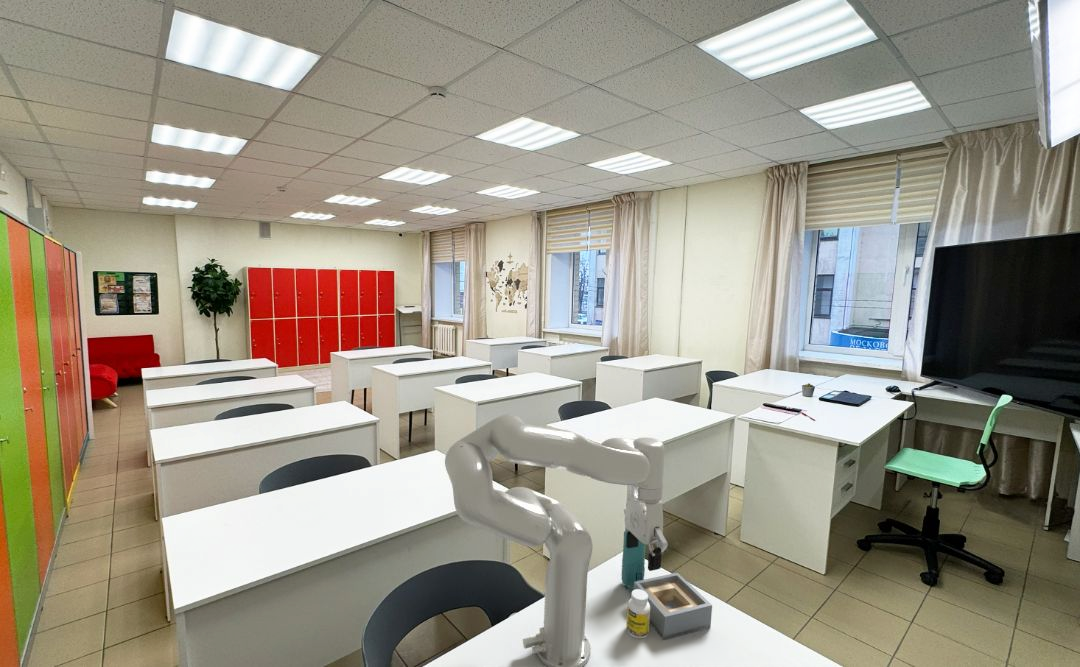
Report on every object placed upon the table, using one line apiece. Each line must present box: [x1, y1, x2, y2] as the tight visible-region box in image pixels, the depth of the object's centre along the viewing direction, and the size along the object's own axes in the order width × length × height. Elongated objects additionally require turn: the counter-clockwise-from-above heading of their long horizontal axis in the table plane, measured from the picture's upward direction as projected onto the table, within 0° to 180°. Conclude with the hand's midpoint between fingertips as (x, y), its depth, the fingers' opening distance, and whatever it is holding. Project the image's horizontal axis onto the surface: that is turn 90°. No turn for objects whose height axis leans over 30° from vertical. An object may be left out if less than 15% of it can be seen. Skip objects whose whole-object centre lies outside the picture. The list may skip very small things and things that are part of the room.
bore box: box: [633, 572, 713, 641], centre depth 120 cm, size 14×14×6 cm
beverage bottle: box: [620, 529, 647, 589], centre depth 131 cm, size 6×7×20 cm
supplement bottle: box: [626, 589, 650, 639], centre depth 114 cm, size 5×5×10 cm
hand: (642, 557), depth 112 cm, fingers open, 9 cm apart
